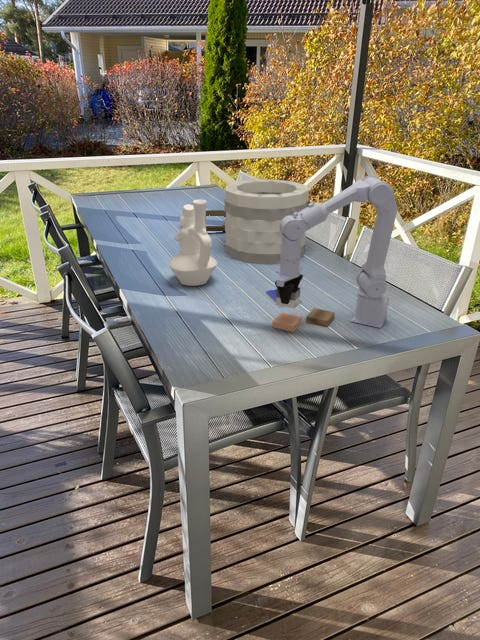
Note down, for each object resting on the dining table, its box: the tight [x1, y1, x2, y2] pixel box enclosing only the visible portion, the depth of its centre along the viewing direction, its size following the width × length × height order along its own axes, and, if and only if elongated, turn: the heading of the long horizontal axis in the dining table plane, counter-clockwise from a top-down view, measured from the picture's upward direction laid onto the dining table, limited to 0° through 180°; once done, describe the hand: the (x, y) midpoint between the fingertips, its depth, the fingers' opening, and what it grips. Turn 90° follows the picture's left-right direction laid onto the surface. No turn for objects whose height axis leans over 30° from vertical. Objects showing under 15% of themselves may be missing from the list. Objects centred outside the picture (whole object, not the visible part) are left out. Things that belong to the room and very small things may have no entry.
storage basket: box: [223, 179, 310, 266], centre depth 212 cm, size 35×35×27 cm
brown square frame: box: [206, 209, 226, 231], centre depth 252 cm, size 31×31×5 cm
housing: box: [275, 286, 301, 309], centre depth 151 cm, size 6×4×5 cm
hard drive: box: [265, 289, 303, 308], centre depth 173 cm, size 2×8×12 cm
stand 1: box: [271, 312, 303, 333], centre depth 155 cm, size 7×7×2 cm
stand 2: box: [305, 307, 335, 328], centre depth 158 cm, size 7×7×2 cm
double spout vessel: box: [168, 199, 218, 287], centre depth 178 cm, size 18×22×32 cm
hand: (288, 300), depth 151 cm, fingers closed on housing, 4 cm apart
